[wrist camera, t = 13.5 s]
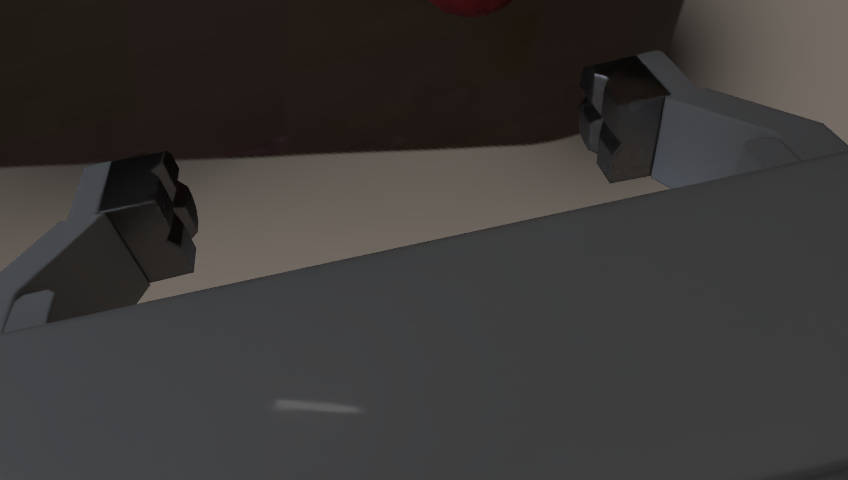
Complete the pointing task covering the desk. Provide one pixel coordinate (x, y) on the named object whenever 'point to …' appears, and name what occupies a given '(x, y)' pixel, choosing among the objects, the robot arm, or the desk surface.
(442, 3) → the onion
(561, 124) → the desk surface
